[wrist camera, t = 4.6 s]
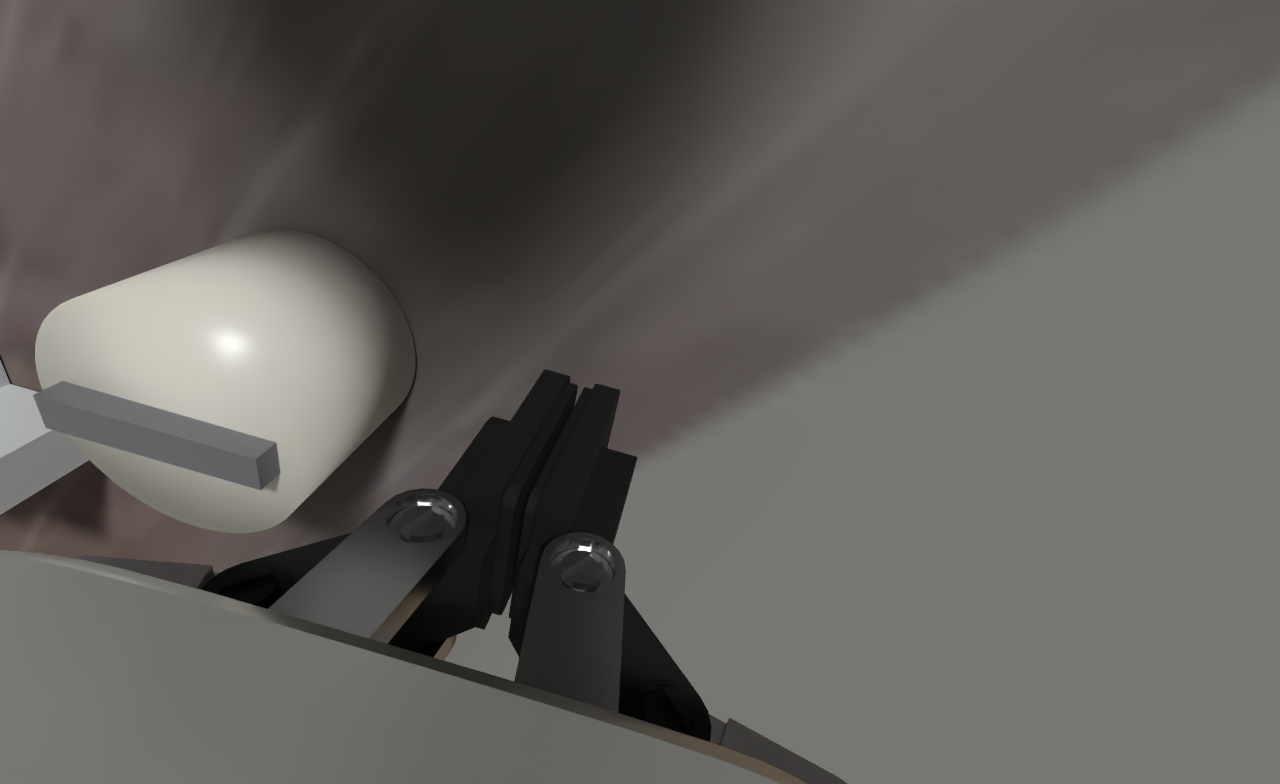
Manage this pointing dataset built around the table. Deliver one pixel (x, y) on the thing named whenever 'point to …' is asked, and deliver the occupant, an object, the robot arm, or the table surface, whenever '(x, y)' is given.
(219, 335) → the knob slider
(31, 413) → the mount
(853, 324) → the table surface
